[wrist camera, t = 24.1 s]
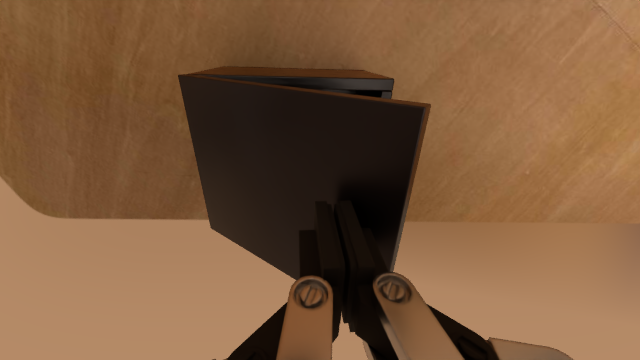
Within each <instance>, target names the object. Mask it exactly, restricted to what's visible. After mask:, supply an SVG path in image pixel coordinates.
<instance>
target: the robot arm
mask: <svg viewBox="0 0 640 360" xmlns="http://www.w3.org/2000/svg"><path fill="white" fill-rule="evenodd" d="M299 270H300V279H298V280H297V281H295V283H294V284H293V285H292V287H291V289H290V292H289V297H288V302H287V303H286V304H285V305H283V306H282V307H281V308H280V309H279V310H278V311H277V312H276V313H275V314H274V315H273V316H271V318H269V319H268V320H267V321H266V322H265V323H264V324H263V325H262V326H261V327H260V328H258V329H257V330H256V331H255V332H254V333H253V334H252V335H251V336H250V337H249V338H248V339H246V340H245V341H244V342H243V343H242V344H241V345H240V346H239V347H238V348H237V349H236V350H235V351H233V353H232V354H231V355H230V356H229V357H228V358H227V359H224V360H332V343H333V342H334V340H335V339H336V338H337V336H338V333H339V324H340V320H341V311H342V317H343V322H344V323H348V324H349V329H350V332H355V334H356V335H357V336H359V337H360V338H361V339H363V345H364V349H365V352H366V354H367V357H368V360H573V359H572V358H571V357H569V356H568V355H566V354H565V353H563V352H561V351H559V350H557V349H554V348H550V347H546V346H539V345H533V344H527V343H521V342H515V341H509V340H503V339H497V338H491V337H489V339H488V340H484V339H483V338H482V337H481V336H479V335H478V334H477V333H475V332H473V331H472V330H470V329H468V328H466V327H465V326H463V325H461V324H460V323H458V322H456V321H455V320H453V319H451V318H450V317H448V316H446V315H444V314H443V313H441V312H439V311H438V310H436V309H434V308H432V307H431V306H429V305H428V304H426V303H425V301H424V300H423V298H422V297H421V296H420V294H419V293H418V291H417V290H416V288H415V287H414V285H413V284H412V283H411V282H410V281H409V280H408V279H407V278H406V277H404V276H403V275H401V274H398V273H395V272H389V271H388V269H387V267H386V264H385V262H384V259H383V257H382V255H381V252H380V250H379V248H378V245H377V243H376V241H375V238H374V236H373V234H372V231H371V229H370V228H361V226H360V223H359V221H358V218H357V215H356V213H355V210H354V207H353V205H352V202H351V201H350V200H349V201H339V202H338V204H334V213H333V210H332V205H331V204H327V201H315V202H314V230H299ZM213 360H216V359H213Z"/></svg>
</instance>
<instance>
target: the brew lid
mask: <svg viewBox="0 0 640 360" xmlns="http://www.w3.org/2000/svg"><path fill="white" fill-rule="evenodd" d="M178 77H179V82H180V87H181V91H182V96H183V101H184V105H185V110H186V115H187V119H188V124H189V129H190V133H191V138H192V143H193V147H194V152H195V157H196V161H197V166H198V171H199V175H200V180H201V184H202V189H203V194H204V198H205V203H206V208H207V212H208V217H209V222H210V226H211V228H212V229H213V230H215V231H217V232H218V233H220V234H221V235H223V236H225V237H226V238H228V239H230V240H231V241H233V242H235V243H236V244H238V245H239V246H241V247H243V248H244V249H246V250H248V251H250V252H251V253H253V254H254V255H256V256H258V257H259V258H261V259H262V260H264V261H266V262H267V263H269V264H271V265H273V266H274V267H276V268H277V269H279V270H281V271H282V272H284V273H285V274H287V275H289V276H290V277H292V278H294V279H295V280H298V279H300V270H299V230H314V202H315V201H327V204H331V205H332V210H333V213H334V204H338V202H339V201H349V200H350V201H351V202H352V205H353V207H354V210H355V213H356V215H357V218H358V221H359V223H360V226H361V228H370V229H371V231H372V234H373V236H374V238H375V241H376V243H377V245H378V248H379V250H380V252H381V255H382V257H383V259H384V262H385V264H386V267H387V269H388V271H389V272H393V270H394V265H395V261H396V257H397V252H398V248H399V243H400V239H401V234H402V230H403V226H404V222H405V217H406V213H407V208H408V204H409V200H410V195H411V191H412V187H413V182H414V178H415V173H416V169H417V165H418V160H419V156H420V151H421V147H422V143H423V138H424V134H425V130H426V125H427V121H428V116H429V112H430V108H431V105H430V104H426V103H418V102H410V101H402V100H394V99H386V98H377V97H369V96H361V95H353V94H345V93H337V92H329V91H321V90H313V89H305V88H297V87H289V86H280V85H272V84H264V83H256V82H248V81H240V80H232V79H224V78H216V77H208V76H200V75H192V74H185V75H178Z"/></svg>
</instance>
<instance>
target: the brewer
mask: <svg viewBox="0 0 640 360" xmlns="http://www.w3.org/2000/svg"><path fill="white" fill-rule="evenodd" d="M190 74H192V75H200V76H208V77H216V78H224V79H232V80H240V81H248V82H256V83H264V84H272V85H280V86H289V87H297V88H305V89H313V90H321V91H329V92H337V93H345V94H353V95H361V96H369V97H377V98H386V99H391V97H392V90H393V84H394V79H393V78H389V77H385V76H382V75H378V74H374V73H371V72H367V71H363V70H334V69H297V68H260V67H219V68H214V69H209V70H204V71H200V72H195V73H190Z"/></svg>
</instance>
